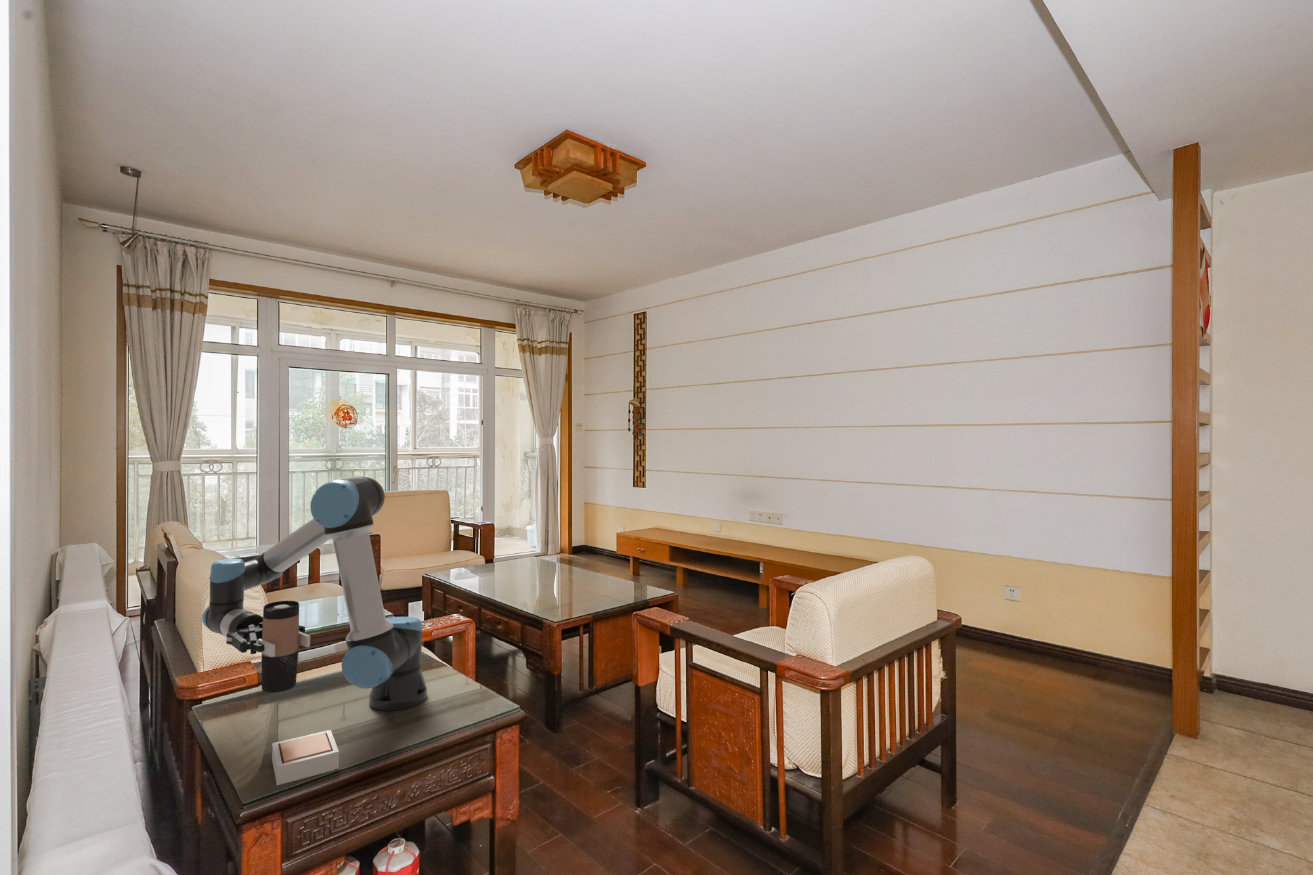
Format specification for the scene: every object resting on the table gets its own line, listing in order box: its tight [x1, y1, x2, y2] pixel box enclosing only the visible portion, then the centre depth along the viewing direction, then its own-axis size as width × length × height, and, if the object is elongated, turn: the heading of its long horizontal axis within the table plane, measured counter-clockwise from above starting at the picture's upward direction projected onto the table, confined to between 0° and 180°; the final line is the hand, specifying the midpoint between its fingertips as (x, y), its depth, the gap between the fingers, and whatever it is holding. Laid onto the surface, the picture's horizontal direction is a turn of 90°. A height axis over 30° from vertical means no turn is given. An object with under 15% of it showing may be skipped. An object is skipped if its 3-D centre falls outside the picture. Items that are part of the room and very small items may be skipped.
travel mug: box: [261, 600, 300, 694], centre depth 150 cm, size 8×8×20 cm
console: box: [271, 729, 340, 786], centre depth 142 cm, size 12×12×4 cm
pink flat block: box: [280, 733, 331, 764], centre depth 142 cm, size 9×9×3 cm
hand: (291, 646), depth 148 cm, fingers closed on travel mug, 7 cm apart
